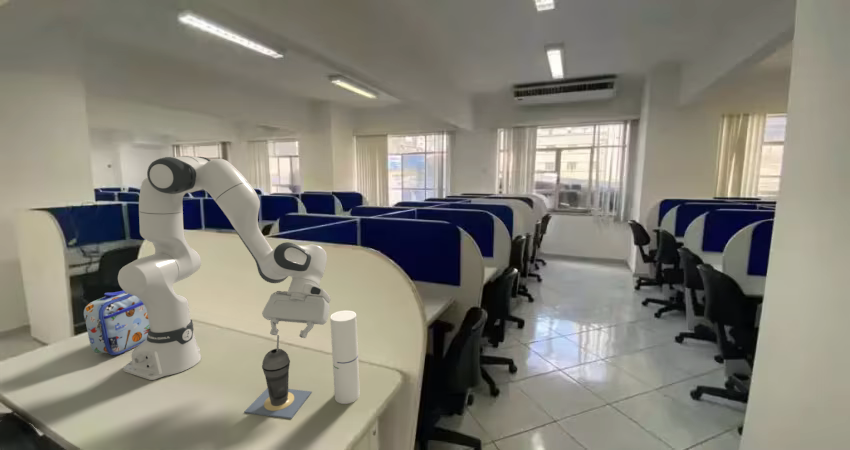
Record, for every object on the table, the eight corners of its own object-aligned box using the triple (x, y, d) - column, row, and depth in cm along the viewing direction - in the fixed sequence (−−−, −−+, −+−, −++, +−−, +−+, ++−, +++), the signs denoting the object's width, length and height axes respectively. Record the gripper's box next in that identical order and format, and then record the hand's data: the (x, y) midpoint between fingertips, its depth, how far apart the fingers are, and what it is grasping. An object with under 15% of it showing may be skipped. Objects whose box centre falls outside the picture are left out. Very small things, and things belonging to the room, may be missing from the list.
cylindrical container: (353, 405, 99) (350, 322, 94) (330, 402, 100) (325, 320, 96) (363, 389, 106) (360, 311, 101) (341, 386, 107) (337, 309, 103)
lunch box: (108, 364, 120) (97, 303, 116) (84, 360, 122) (72, 300, 118) (178, 327, 146) (171, 277, 143) (158, 325, 148) (150, 275, 145)
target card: (244, 412, 96) (244, 411, 96) (268, 387, 107) (268, 386, 107) (291, 418, 94) (291, 417, 94) (311, 392, 104) (311, 391, 104)
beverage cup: (271, 392, 104) (265, 329, 100) (296, 392, 104) (291, 329, 100) (261, 410, 96) (254, 342, 93) (288, 408, 97) (282, 341, 93)
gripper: (268, 286, 111) (250, 329, 103) (328, 290, 107) (315, 335, 99) (277, 294, 116) (261, 336, 108) (335, 298, 112) (323, 342, 105)
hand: (287, 336), depth 104 cm, fingers open, 8 cm apart
